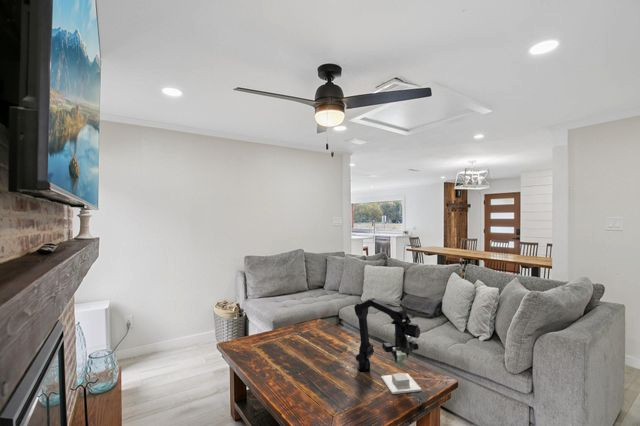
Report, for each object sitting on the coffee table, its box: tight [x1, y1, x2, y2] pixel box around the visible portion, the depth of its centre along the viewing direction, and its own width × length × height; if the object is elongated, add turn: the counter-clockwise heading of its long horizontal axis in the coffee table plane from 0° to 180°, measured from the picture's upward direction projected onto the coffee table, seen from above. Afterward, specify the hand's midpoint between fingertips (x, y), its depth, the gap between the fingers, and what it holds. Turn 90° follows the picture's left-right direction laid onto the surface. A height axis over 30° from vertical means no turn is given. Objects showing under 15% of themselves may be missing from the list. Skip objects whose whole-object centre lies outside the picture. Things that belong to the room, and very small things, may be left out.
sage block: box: [393, 350, 408, 368], centre depth 171 cm, size 5×5×6 cm
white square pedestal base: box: [381, 372, 422, 395], centre depth 171 cm, size 16×16×4 cm
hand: (400, 361), depth 171 cm, fingers closed on sage block, 5 cm apart
